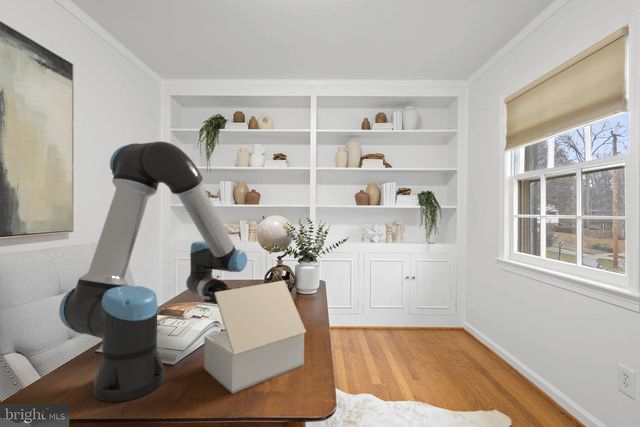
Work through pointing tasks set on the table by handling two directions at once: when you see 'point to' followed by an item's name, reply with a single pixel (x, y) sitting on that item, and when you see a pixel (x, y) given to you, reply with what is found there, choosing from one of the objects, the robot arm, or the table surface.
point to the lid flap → (258, 315)
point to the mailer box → (250, 360)
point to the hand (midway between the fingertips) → (248, 305)
